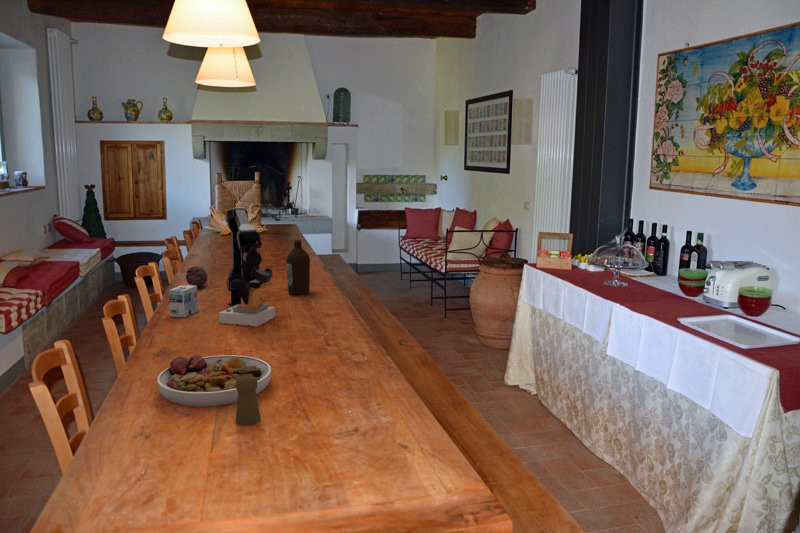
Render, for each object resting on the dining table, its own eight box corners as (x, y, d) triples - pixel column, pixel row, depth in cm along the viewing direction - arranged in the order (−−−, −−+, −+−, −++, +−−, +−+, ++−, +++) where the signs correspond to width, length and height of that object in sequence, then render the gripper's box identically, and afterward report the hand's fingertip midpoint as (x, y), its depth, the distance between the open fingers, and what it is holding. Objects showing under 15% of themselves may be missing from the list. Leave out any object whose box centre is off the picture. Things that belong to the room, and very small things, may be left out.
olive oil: (307, 290, 298) (306, 236, 294) (313, 295, 289) (312, 239, 284) (284, 292, 294) (283, 238, 290) (290, 297, 284) (288, 241, 280)
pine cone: (209, 290, 298) (208, 269, 296) (187, 291, 295) (186, 270, 293) (206, 282, 314) (205, 262, 312) (185, 284, 311) (184, 263, 309)
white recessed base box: (238, 313, 256) (238, 300, 255) (275, 317, 251) (274, 303, 250) (219, 323, 242) (218, 308, 241) (257, 326, 238) (256, 312, 237)
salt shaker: (248, 413, 160) (247, 371, 158) (266, 419, 157) (264, 376, 155) (230, 421, 156) (227, 378, 154) (247, 427, 152) (245, 383, 150)
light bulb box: (185, 317, 250) (183, 290, 248) (169, 317, 251) (167, 290, 249) (199, 311, 260) (197, 285, 258) (183, 310, 261) (182, 284, 259)
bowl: (291, 378, 186) (290, 352, 184) (231, 418, 158) (230, 388, 157) (203, 366, 196) (202, 341, 194) (133, 402, 168) (130, 374, 166)
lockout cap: (248, 308, 249) (247, 287, 247) (259, 308, 247) (259, 288, 246) (241, 311, 244) (240, 290, 243) (253, 312, 243) (252, 291, 241)
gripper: (255, 267, 231) (257, 309, 234) (279, 259, 249) (281, 298, 252) (228, 266, 234) (230, 307, 237) (254, 257, 252) (255, 296, 255)
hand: (250, 302), depth 245 cm, fingers open, 6 cm apart
